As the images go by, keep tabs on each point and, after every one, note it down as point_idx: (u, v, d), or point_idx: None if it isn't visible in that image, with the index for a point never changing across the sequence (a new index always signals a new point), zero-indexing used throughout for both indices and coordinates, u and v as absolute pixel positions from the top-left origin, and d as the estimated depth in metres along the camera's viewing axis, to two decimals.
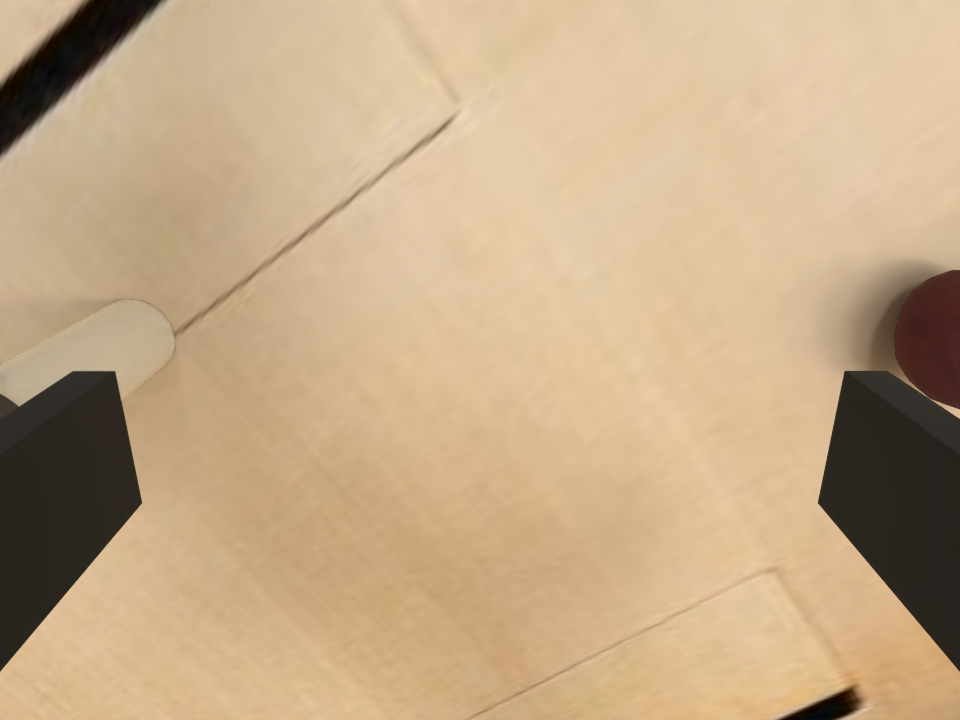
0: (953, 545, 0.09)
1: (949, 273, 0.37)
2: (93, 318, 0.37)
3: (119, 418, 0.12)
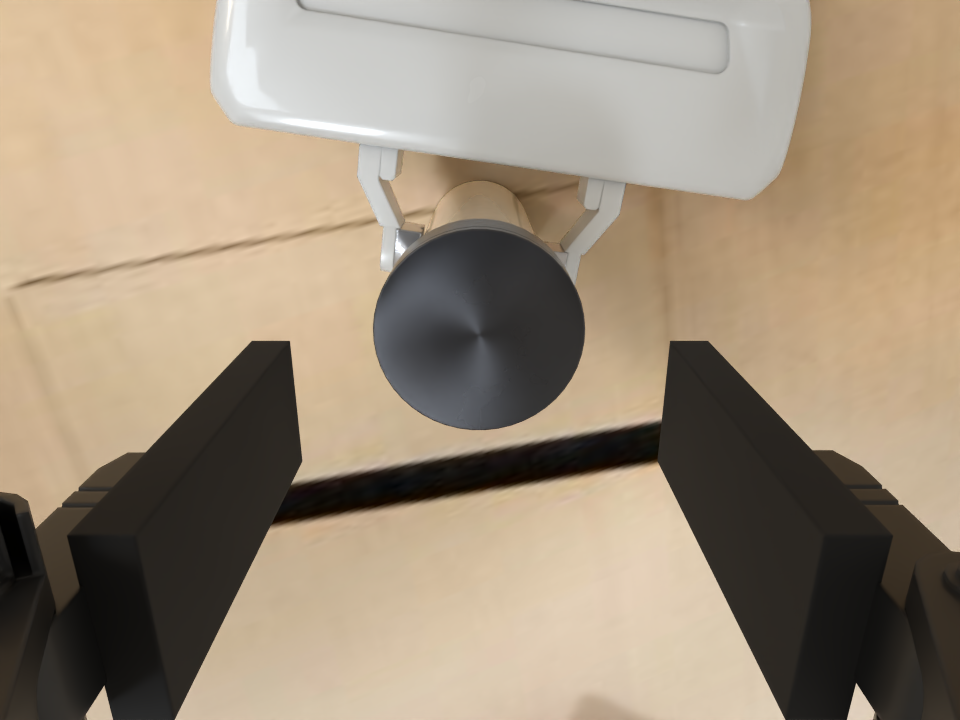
0: (719, 483, 0.11)
1: None
2: None
3: (292, 383, 0.14)
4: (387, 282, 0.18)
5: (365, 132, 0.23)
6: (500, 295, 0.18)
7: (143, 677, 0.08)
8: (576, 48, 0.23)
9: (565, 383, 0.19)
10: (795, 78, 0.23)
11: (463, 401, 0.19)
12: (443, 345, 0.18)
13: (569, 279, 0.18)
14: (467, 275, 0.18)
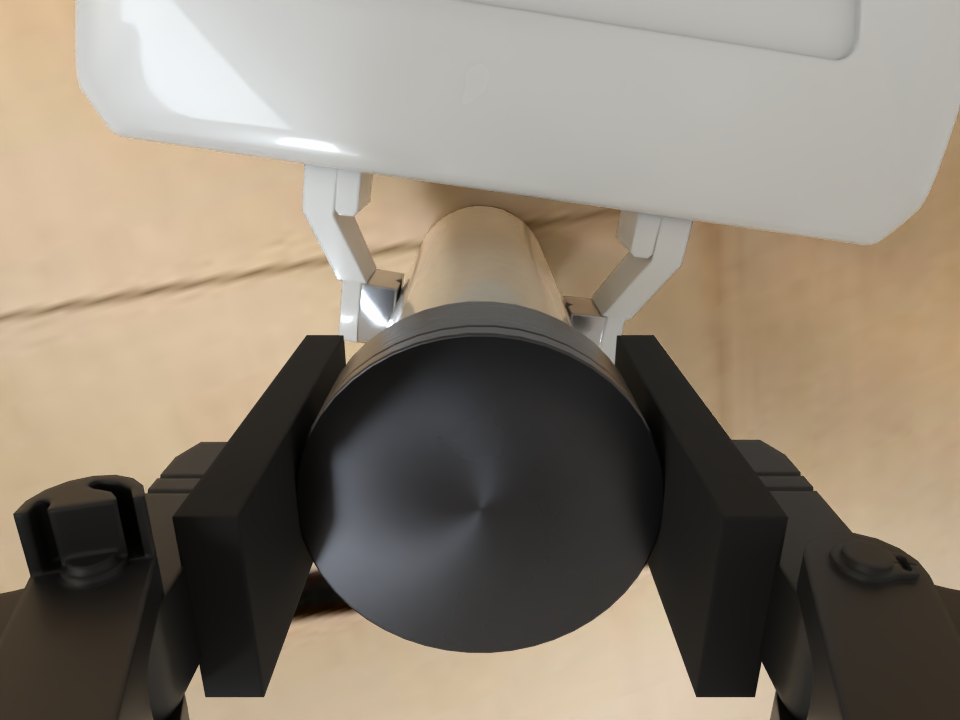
0: None
1: None
2: None
3: None
4: (317, 423, 0.10)
5: (310, 147, 0.16)
6: (518, 445, 0.10)
7: (236, 655, 0.09)
8: (626, 21, 0.15)
9: (627, 583, 0.11)
10: None
11: (453, 610, 0.11)
12: (418, 525, 0.10)
13: (641, 418, 0.10)
14: (459, 412, 0.10)
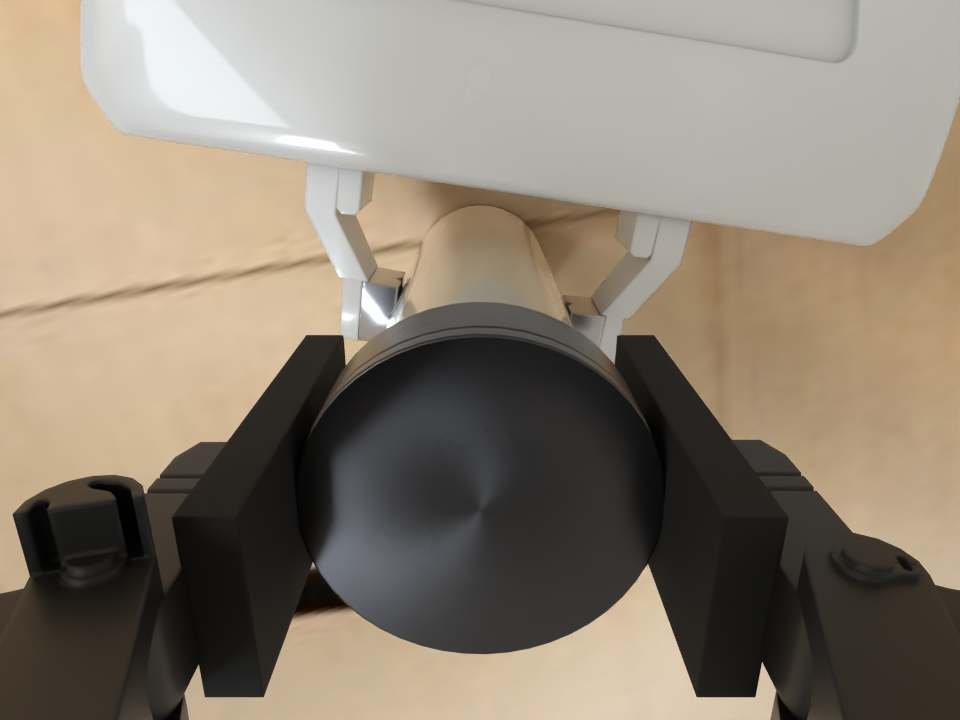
0: None
1: None
2: None
3: None
4: (450, 650, 0.11)
5: (313, 146, 0.16)
6: (400, 502, 0.10)
7: (236, 655, 0.09)
8: (627, 23, 0.15)
9: (513, 342, 0.09)
10: (958, 69, 0.15)
11: (609, 493, 0.10)
12: (519, 553, 0.11)
13: (324, 411, 0.10)
14: (390, 557, 0.11)
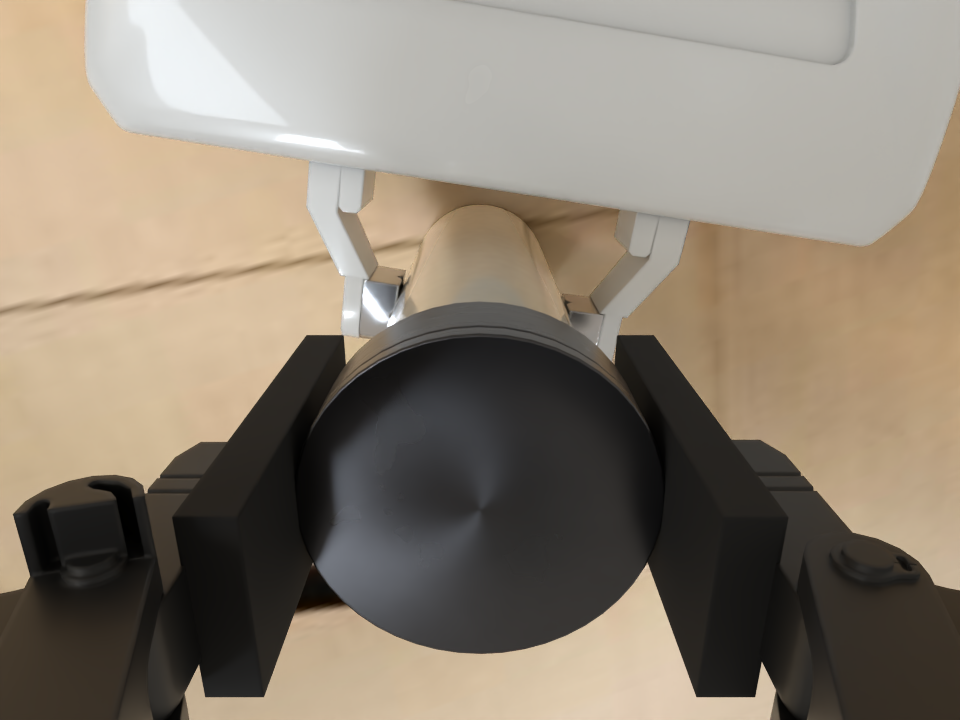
0: None
1: None
2: None
3: None
4: (661, 480, 0.10)
5: (315, 145, 0.16)
6: (499, 574, 0.11)
7: (236, 655, 0.09)
8: (627, 24, 0.15)
9: (307, 539, 0.11)
10: (953, 72, 0.15)
11: (412, 406, 0.10)
12: (514, 460, 0.10)
13: (436, 647, 0.11)
14: (563, 565, 0.11)
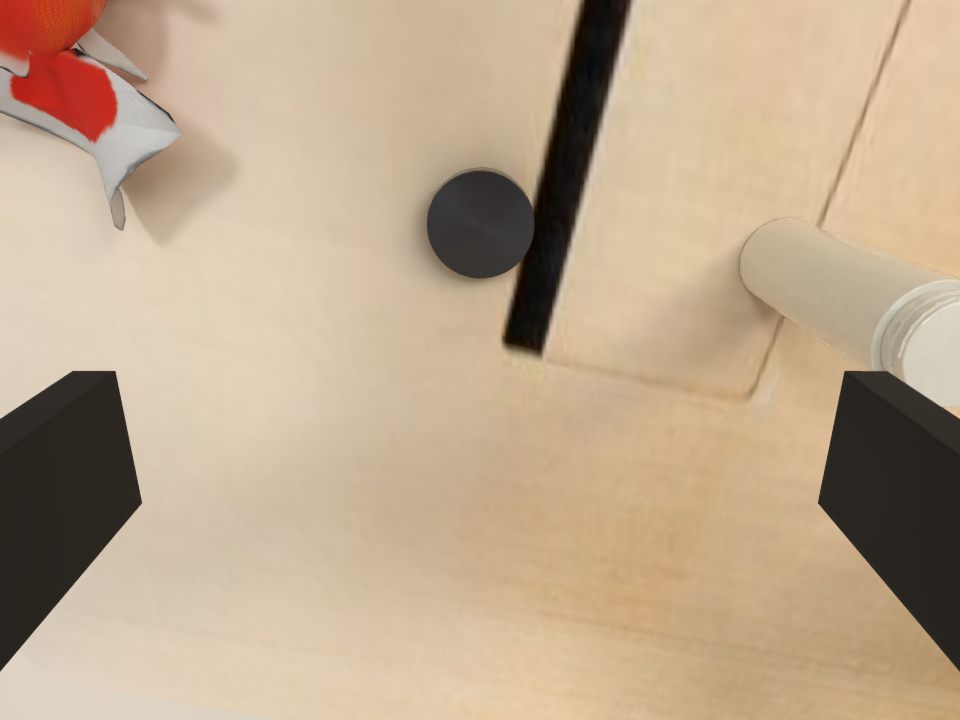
0: (953, 545, 0.09)
1: None
2: (787, 243, 0.34)
3: (119, 418, 0.12)
4: (449, 267, 0.36)
5: None
6: (461, 213, 0.35)
7: None
8: None
9: (512, 182, 0.35)
10: None
11: (516, 238, 0.36)
12: (484, 244, 0.36)
13: (456, 177, 0.35)
14: (449, 228, 0.36)
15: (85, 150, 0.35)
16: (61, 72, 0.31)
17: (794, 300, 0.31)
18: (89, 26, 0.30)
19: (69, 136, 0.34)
